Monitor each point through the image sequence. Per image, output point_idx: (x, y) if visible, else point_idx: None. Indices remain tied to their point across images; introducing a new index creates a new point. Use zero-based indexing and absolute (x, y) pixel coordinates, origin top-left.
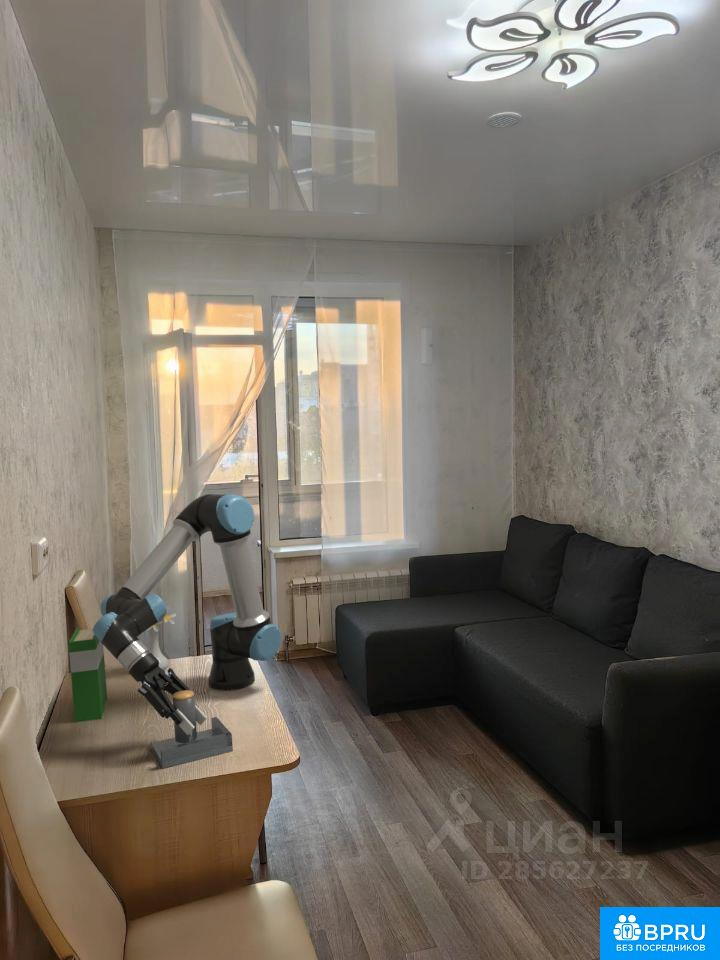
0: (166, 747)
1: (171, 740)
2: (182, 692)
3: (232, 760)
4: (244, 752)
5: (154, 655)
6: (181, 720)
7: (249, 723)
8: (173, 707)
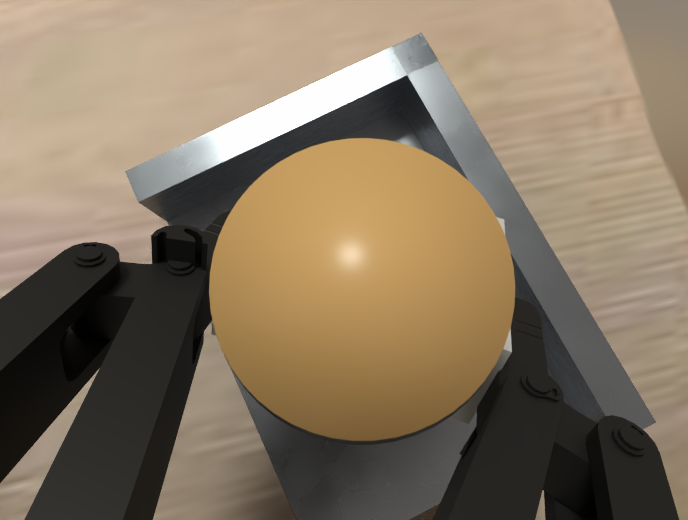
0: (597, 401)
1: (297, 434)
2: (294, 309)
3: (515, 74)
4: (431, 35)
5: None
6: (519, 303)
7: (80, 64)
8: (515, 390)
